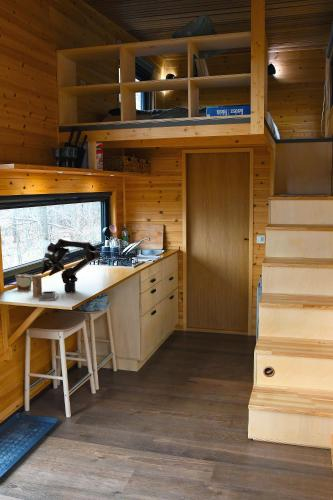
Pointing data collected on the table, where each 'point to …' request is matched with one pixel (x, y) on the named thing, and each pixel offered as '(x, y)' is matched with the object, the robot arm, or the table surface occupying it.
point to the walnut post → (37, 285)
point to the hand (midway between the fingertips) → (45, 274)
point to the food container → (24, 281)
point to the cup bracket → (48, 296)
